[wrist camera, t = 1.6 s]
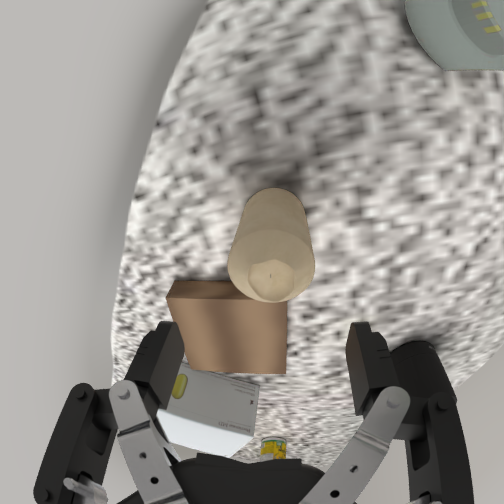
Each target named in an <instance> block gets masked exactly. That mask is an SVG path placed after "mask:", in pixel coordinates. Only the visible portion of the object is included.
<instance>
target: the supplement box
mask: <svg viewBox="0 0 504 504" xmlns="http://www.w3.org/2000/svg"><path fill="white" fill-rule="evenodd" d="M259 388H260V386H259V385H254V384H251V383H247V382H243V381H240V380H236V379H233V378H229V377H226V376H222V375H219V374H216V373H212V372H209V371H203V370H192V369H191V368H190V365H188V364H185V363H182V362H181V365H180V369H179V372H178V375H177V378H176V381H175V384H174V387H173V390H172V394H171V397H170V400H169V403H168V407H167V410H164V409H158V412H157V416H158V418H159V421H160V423H161V425H162V427H163V429H164V431H165V433H166V435H167V437H168V439H169V441H170V442H172V443H175V444H178V445H182V446H185V447H188V448H192V449H195V450H199V451H203V452H207V453H211V454H215V455H219V456H224V457H227V458H229V457H231V456H232V455H233V454H235V453H236V452H237V451H238V450H239V449H241V448H242V447H243V446H244V445H246V444H247V443H248V442H249V441H250V440H252V439H253V437H254V430H255V422H256V413H257V405H258V396H259Z"/></svg>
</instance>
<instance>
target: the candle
mask: <svg viewBox="0 0 504 504" xmlns="http://www.w3.org/2000/svg"><path fill="white" fill-rule="evenodd" d="M227 267H228V273H229V276H230V278H231V280H232V282H233V284H234V285H235V286H236V287H237V288H238V289H239V290H240V291H241V292H242V293H243V294H245V295H246V296H248V297H250V298H252V299H255V300H258V301H262V302H282V301H286V300H290V299H292V298H294V297H296V296H298V295H299V294H301V293H302V292H303V291H304V290H305V289H306V288H307V287H308V286H309V284H310V283H311V281H312V279H313V276H314V272H315V260H314V254H313V249H312V244H311V239H310V234H309V229H308V224H307V219H306V214H305V211H304V208H303V205H302V203H301V202H300V201H299V199H298V198H297V197H296V196H295V195H294V194H292V193H291V192H289V191H287V190H284V189H281V188H267V189H264V190H261V191H259V192H257V193H256V194H255V195H253V196H252V197H251V198H250V199H249V201H248V202H247V204H246V206H245V208H244V211H243V214H242V217H241V220H240V223H239V226H238V229H237V232H236V235H235V238H234V241H233V244H232V247H231V250H230V253H229V257H228V265H227Z"/></svg>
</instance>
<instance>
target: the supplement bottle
mask: <svg viewBox="0 0 504 504" xmlns="http://www.w3.org/2000/svg"><path fill="white" fill-rule="evenodd" d="M272 459H286V440H284V439H282V438H278V437H268V438H265V439H263V440H262V444H261V456H260V462H262V461H267V460H272Z"/></svg>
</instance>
